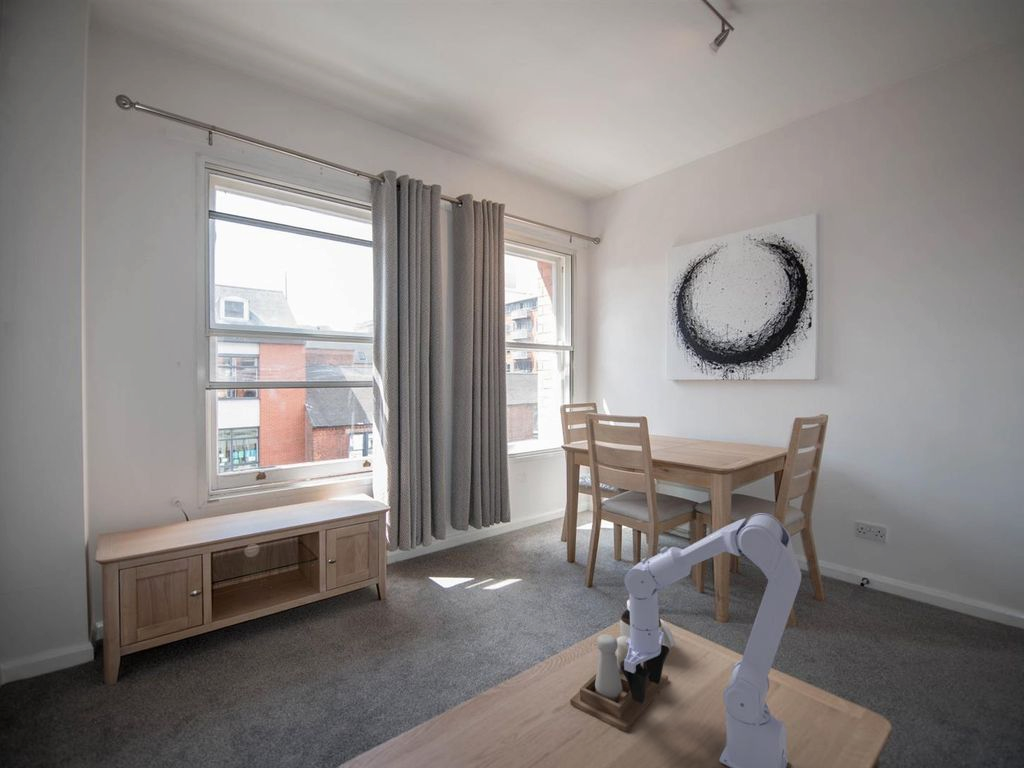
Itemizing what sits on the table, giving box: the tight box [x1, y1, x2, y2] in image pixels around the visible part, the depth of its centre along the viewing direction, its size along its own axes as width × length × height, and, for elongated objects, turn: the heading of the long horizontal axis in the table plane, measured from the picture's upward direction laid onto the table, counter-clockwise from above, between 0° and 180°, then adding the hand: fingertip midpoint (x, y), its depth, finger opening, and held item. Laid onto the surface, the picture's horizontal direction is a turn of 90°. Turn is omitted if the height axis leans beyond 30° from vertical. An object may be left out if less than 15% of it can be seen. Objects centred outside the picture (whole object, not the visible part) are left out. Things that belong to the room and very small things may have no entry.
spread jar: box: [619, 599, 676, 649], centre depth 122 cm, size 12×11×12 cm
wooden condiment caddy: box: [569, 635, 669, 733], centre depth 104 cm, size 13×21×9 cm, turn 139°
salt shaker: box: [595, 633, 623, 703], centre depth 101 cm, size 6×6×13 cm
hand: (646, 690), depth 95 cm, fingers open, 7 cm apart
